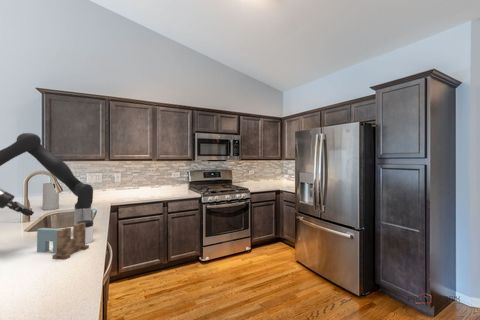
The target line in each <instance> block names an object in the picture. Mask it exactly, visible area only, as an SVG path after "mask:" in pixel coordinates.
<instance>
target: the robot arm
mask: <svg viewBox="0 0 480 320" xmlns="http://www.w3.org/2000/svg"><path fill="white" fill-rule="evenodd" d="M41 142H42V139H41V138H40V136H39V135H38V134H35V133H32V132H25V133H24V132H23V133H21V134H19V135H18V136H17V137H16V141H15V142H14V143H12V144H10V145H8V146H6V147H4V148H2V149H1V150H0V167H1V166H3V165H5V164H6V163H8V162H10V161H11V160H13V159H14V158H17V157H18V156H20V155H23V154H25V153H28V154H30V155H31V156H32V157H34V159H35V160H37V162H38V163H39V164H41V166H42V167H44V168H45V169H46V170H47V171H48V172H49V173H50V174H51V175H52V176H53V177H54V178H56V179H58V180H59V181H60V182H61V183H62V184H64V185H65V186H66V187H67V189H68V190H69V191H71V192H72V194H73V195H75V197H77V201H76V203H74V218H73V219H74V221H73V222H74V224H73V225H76V224H77V223H78V222H80V221H85V220H92V221H93V219H92V204H93V201H94V200H93V199H94V189H93V186H92V185H91V184H88V183H83V182H82V181H81V180H79V179H78V178H77V176H75V175H74V173H73V172H72V170H71V168H70V167H69V165H68V164H66V163H65V162H64V161H63V160H62V159H61V158H59V156H57V155H55V154H54V153H52V152H50V151H49V150H48V149H46V148H45V147H44V146H43V144H41ZM14 199H15V195H13V194H11V193H9V192H8V191H6V190H3V188H0V209H5V208H6V207H7V208H8V209H10V210H12V211H14V212H17V213H20V214H23V215H24V216H26V217H29V216H33V215H34V214H35V212H34V211H32V210H31V209H29V208H28V207H27V206H25V205H24V204H22V203H20V202H19V201H14Z"/></svg>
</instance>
